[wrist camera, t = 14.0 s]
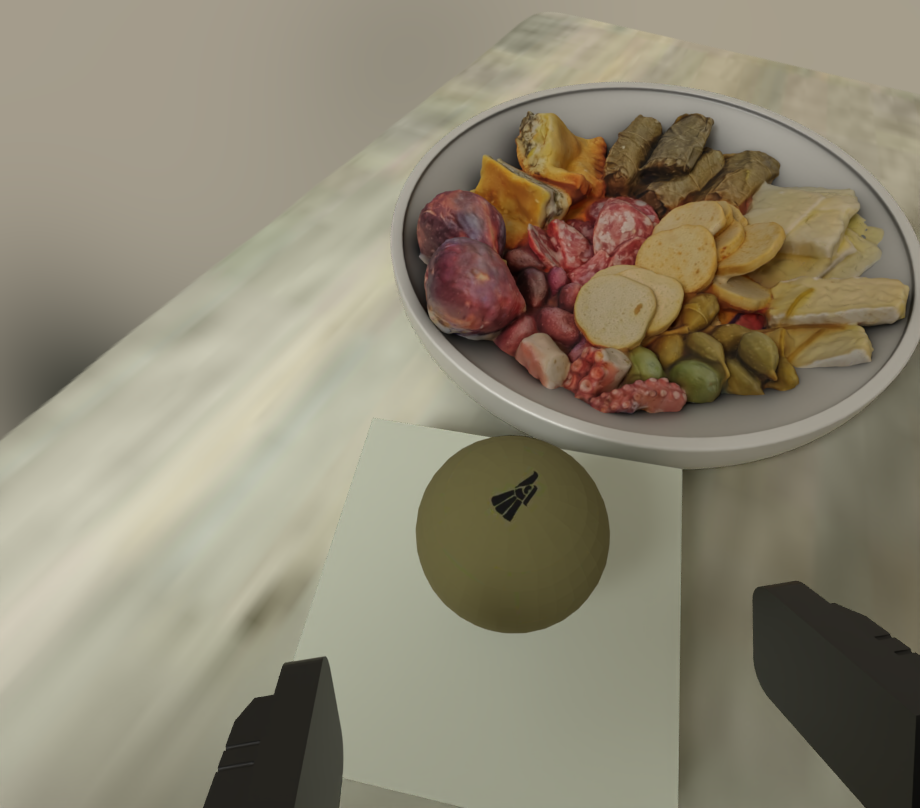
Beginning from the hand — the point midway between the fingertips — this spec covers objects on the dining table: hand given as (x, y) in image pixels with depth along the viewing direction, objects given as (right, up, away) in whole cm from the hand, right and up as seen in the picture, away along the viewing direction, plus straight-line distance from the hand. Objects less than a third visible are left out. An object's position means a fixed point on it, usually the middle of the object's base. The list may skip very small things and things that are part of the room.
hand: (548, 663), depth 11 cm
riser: (0, -5, +17) cm, 18 cm away
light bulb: (0, -3, +13) cm, 13 cm away
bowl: (+9, +12, +29) cm, 33 cm away
